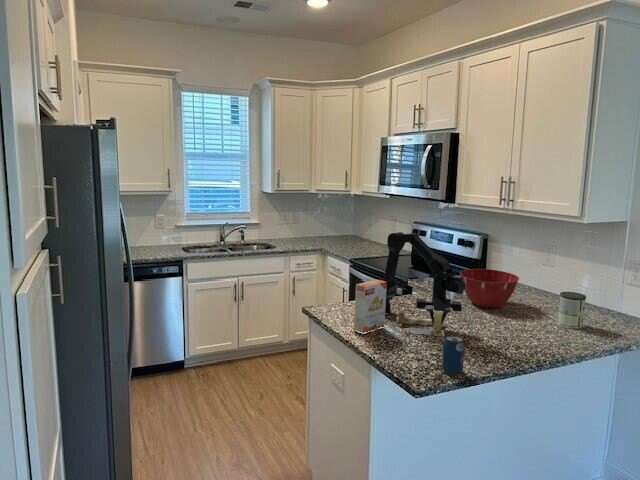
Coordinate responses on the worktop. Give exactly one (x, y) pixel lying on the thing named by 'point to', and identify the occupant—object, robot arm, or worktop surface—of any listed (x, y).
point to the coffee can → (571, 310)
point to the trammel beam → (413, 320)
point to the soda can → (453, 355)
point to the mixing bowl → (488, 286)
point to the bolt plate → (427, 331)
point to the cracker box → (370, 305)
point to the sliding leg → (437, 320)
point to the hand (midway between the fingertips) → (437, 324)
